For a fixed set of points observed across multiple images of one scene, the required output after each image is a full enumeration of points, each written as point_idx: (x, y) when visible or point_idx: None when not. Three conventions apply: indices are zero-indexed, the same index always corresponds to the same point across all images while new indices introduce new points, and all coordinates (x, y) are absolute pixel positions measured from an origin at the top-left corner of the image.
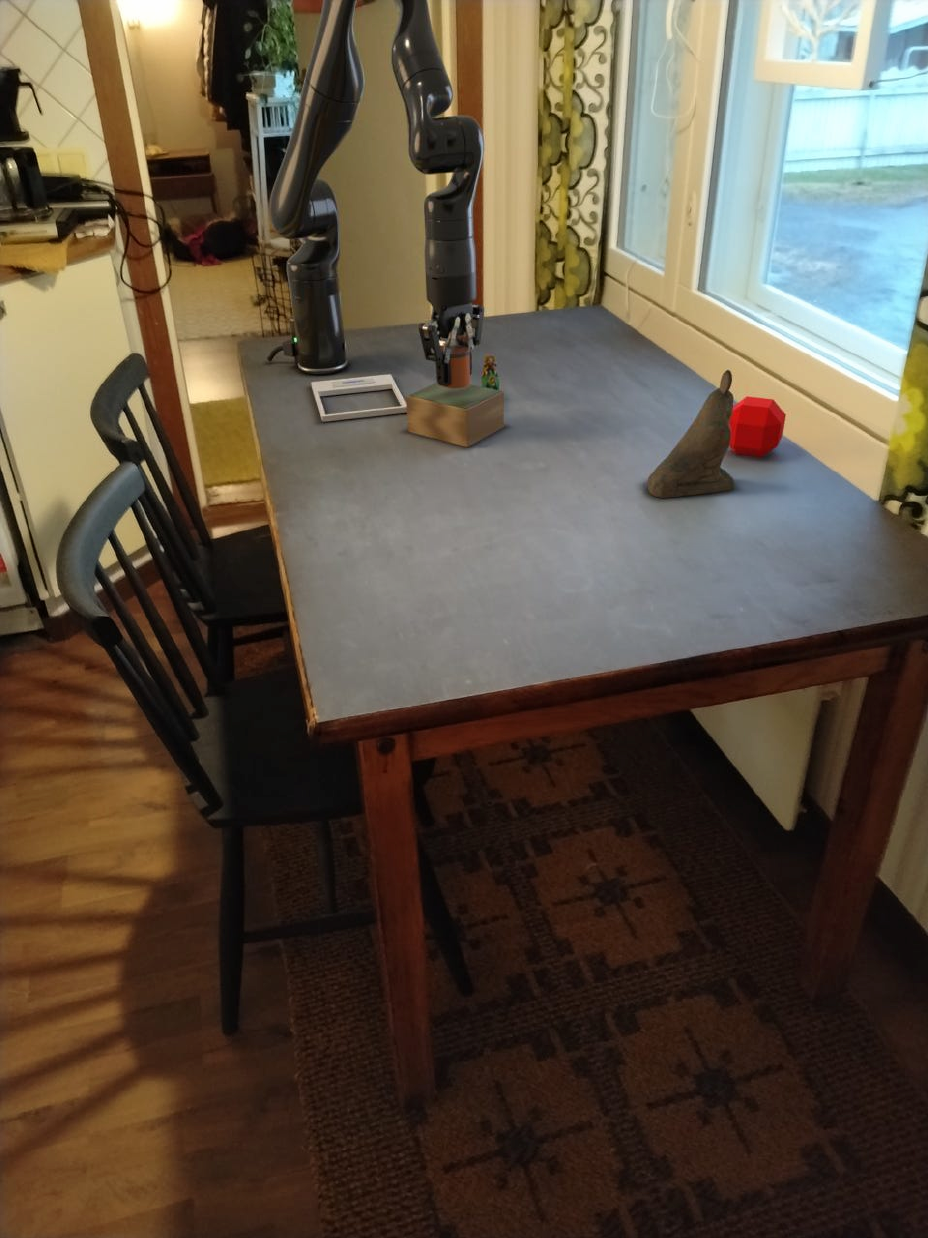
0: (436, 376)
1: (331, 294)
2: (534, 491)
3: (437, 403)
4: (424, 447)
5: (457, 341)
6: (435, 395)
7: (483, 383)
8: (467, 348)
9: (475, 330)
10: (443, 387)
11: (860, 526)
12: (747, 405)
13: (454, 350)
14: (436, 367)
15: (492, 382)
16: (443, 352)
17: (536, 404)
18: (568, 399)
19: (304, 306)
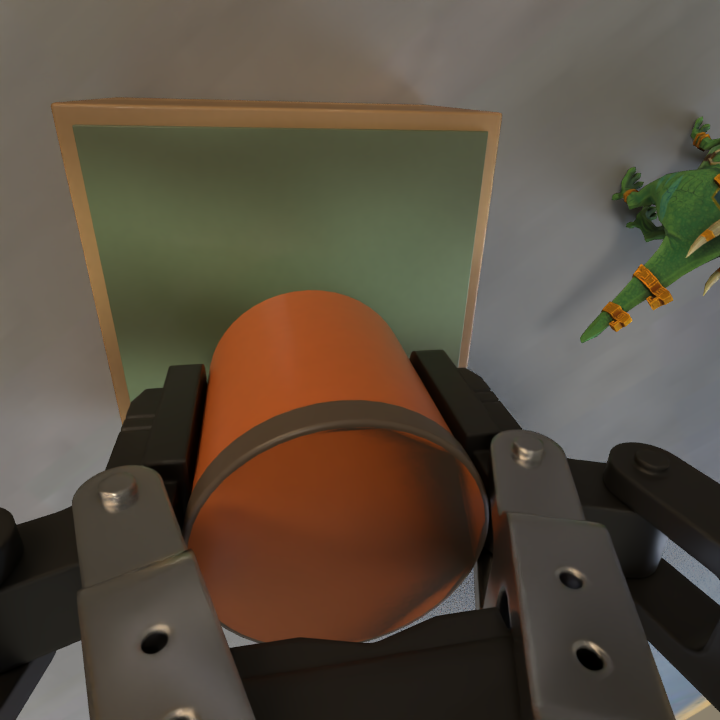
0: (127, 415)
1: None
2: (66, 700)
3: (112, 370)
4: (41, 293)
5: (492, 521)
6: (191, 292)
7: (669, 204)
8: (427, 600)
9: (676, 646)
10: (339, 240)
11: None
12: None
13: (320, 571)
14: (111, 465)
15: (611, 318)
16: (204, 546)
17: (646, 361)
18: (713, 412)
19: None
